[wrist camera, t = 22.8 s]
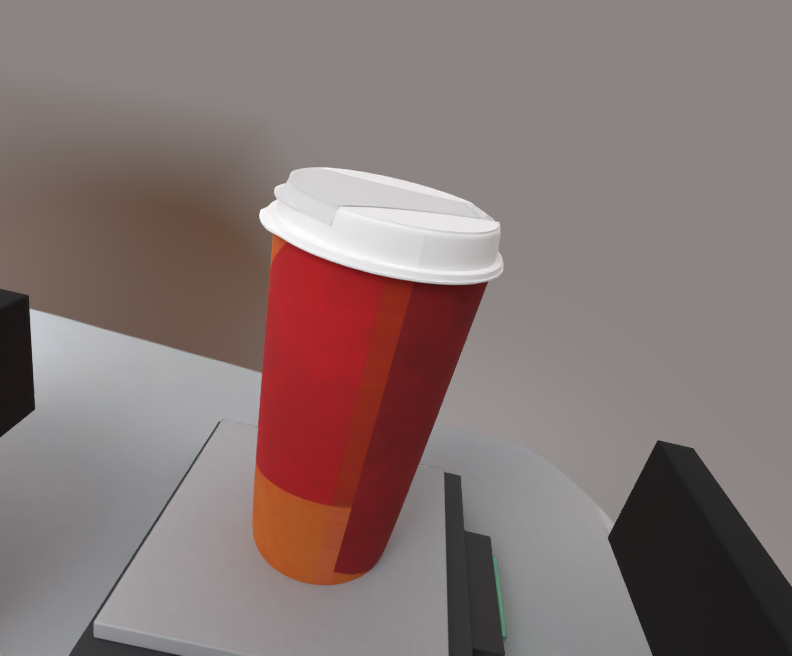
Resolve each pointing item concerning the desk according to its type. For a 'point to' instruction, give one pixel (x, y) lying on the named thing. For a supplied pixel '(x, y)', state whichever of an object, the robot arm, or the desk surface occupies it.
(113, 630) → the scale
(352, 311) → the coffee cup
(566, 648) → the desk surface
